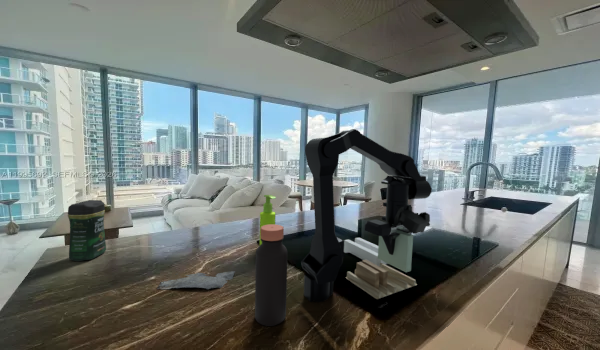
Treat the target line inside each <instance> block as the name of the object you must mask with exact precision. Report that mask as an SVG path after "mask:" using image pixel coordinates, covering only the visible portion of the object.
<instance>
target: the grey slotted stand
mask: <svg viewBox="0 0 600 350" xmlns="http://www.w3.org/2000/svg"><path fill="white" fill-rule="evenodd" d="M343 241H344V254H348V253H350V254H351V255H353V256H355V257H357V258H359V259H361V261H362V260H368V261H370V262H372V263H374V264H375V265H377V266H379V267H380V263H383V264H385V265H389V264H388V263H386V262H384V261H382V260H380V259H378V245H377V244H375V243H372V242H370V241H368V240H366V239H363V238H361V237H355V238H354V241H353V240H351V239H343Z"/></svg>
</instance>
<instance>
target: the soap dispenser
mask: <svg viewBox="0 0 600 350" xmlns="http://www.w3.org/2000/svg"><path fill="white" fill-rule="evenodd" d="M263 197H265V202H264V203H263V211H261V212H259V246H260V245H261V244H262V241H261V237H260V235H261V234H260V232H261V227H262V226H264V225H269V224H275V225H276V212H275V211H273V203H272V202H271V200H272V199H273V200H274V199H277V198H276V196H274V195H272V194H265V195H263Z"/></svg>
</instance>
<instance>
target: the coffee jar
mask: <svg viewBox="0 0 600 350" xmlns="http://www.w3.org/2000/svg"><path fill="white" fill-rule="evenodd" d="M105 212H106V207H105V202H104V201H102V200H97V199H94V200H93V199H90V200H85V201H84V200H83V201H81V202H77V203H72V204H70V205H69V206H68V208H67V218H68V220H69V244H68V245H69V246H68V259H69V260H70V261H73V262H74V261H75V262H83V261H88V260H92V259H95V258H97V257H99V256H100V255H103V254H104V253H106V251H107V243H106V237H105V236H106V235H105V225H104V224H105V221H104V220H105V219H104V218H105Z"/></svg>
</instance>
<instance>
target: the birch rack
mask: <svg viewBox="0 0 600 350" xmlns="http://www.w3.org/2000/svg"><path fill="white" fill-rule="evenodd" d="M379 267H381V268H383V269H385V270H387V271H388V279H387V288H385V287H384V286H382V285H380V284H379V290H378V289H376V288H375V287H373V286H372V285H370V284H368V283H367V282H365V281H364V280H362V279H361V278H359V277H357V276H356V269H354V273H353V272H351V271H347V272H346V277H345V278H346V280H348V281H350V282H351V283H352V284H354V285H355V286H356V287H358V288H360V289H361V290H363V291H364V292H366V293H367V294H368V295H370V296H371V297H373V298H374V299H376V300H379V299H381V298H384V297H387V296H390V295H393V294H395V293H398V292H402V291H403V290H406V289H409V288H412V287H415V286H417V285H418V284H417V281H416V279H415V278H413V277H412V276H409V275H406V274H404V273H403V272H401V271H400V270H397V269H395V268H394V267H391V266H390V265H388V264H383V263H380V266H379Z"/></svg>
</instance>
